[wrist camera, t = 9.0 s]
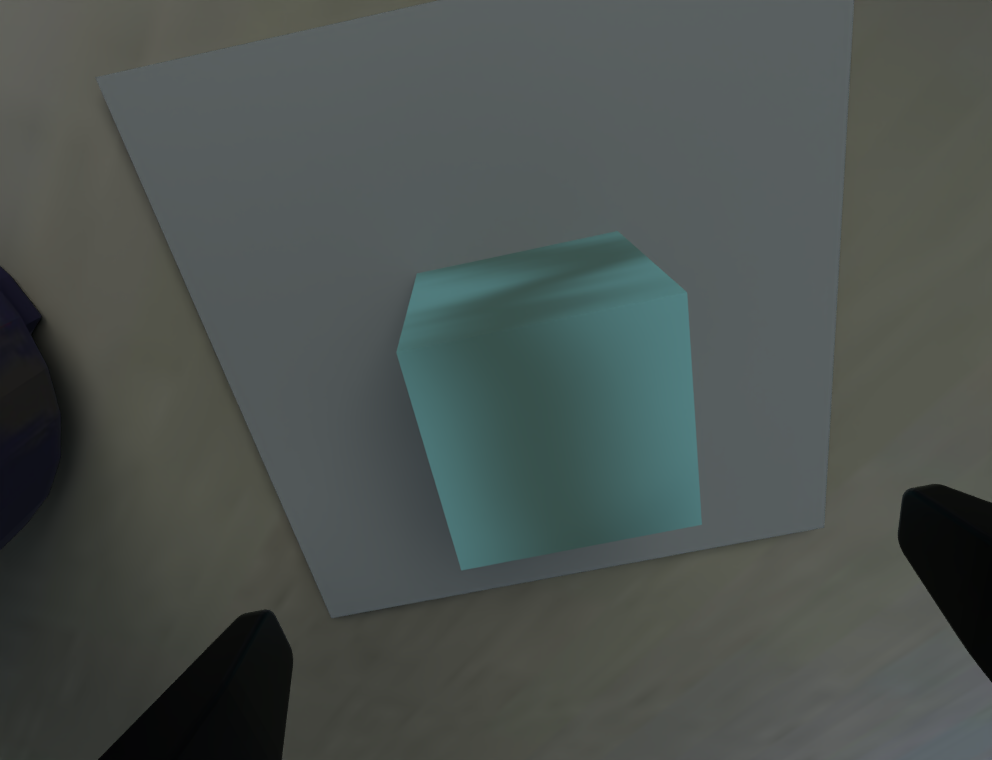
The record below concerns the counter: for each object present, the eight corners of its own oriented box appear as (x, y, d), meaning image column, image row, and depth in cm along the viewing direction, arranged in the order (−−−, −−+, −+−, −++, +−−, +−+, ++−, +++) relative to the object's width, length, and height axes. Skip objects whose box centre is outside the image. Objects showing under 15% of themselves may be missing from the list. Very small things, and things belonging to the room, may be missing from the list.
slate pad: (842, -86, 12) (859, -95, 12) (814, 515, 19) (824, 527, 19) (110, 78, 13) (94, 77, 13) (335, 603, 20) (331, 618, 19)
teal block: (617, 231, 15) (686, 292, 10) (637, 408, 17) (701, 524, 12) (416, 273, 15) (396, 352, 10) (461, 443, 17) (461, 570, 12)
